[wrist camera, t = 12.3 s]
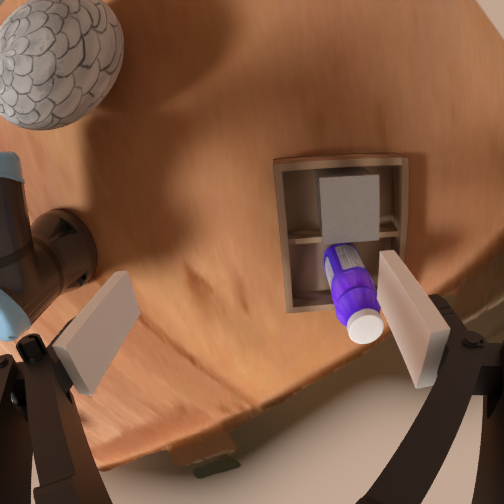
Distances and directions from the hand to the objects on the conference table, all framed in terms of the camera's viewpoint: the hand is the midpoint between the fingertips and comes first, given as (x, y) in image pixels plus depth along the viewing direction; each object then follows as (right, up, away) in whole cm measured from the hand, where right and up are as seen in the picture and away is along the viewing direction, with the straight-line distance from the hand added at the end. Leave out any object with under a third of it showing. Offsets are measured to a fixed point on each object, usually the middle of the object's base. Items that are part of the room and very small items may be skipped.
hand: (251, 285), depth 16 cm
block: (+13, +10, +29) cm, 33 cm away
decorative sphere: (-25, +31, +23) cm, 46 cm away
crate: (+13, +5, +31) cm, 34 cm away
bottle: (+14, 0, +33) cm, 36 cm away
